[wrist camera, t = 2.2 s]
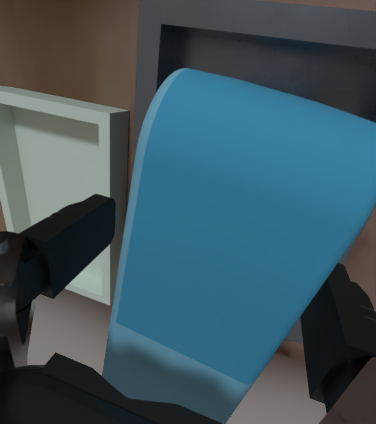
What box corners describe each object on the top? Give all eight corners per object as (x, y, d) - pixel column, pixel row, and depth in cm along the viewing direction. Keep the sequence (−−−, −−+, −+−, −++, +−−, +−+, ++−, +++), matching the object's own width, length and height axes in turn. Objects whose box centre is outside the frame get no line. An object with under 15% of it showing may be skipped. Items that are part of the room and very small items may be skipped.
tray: (129, 110, 18) (109, 113, 16) (123, 288, 26) (110, 305, 24) (6, 86, 20) (-25, 85, 18) (35, 256, 28) (15, 269, 26)
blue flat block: (242, 266, 20) (202, 461, 9) (187, 244, 20) (95, 403, 10) (319, 102, 14) (432, 141, 4) (239, 79, 15) (144, 57, 4)
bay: (432, 35, 12) (474, 20, 9) (298, 312, 21) (301, 344, 18) (164, 7, 15) (139, -10, 12) (144, 261, 23) (127, 283, 21)
